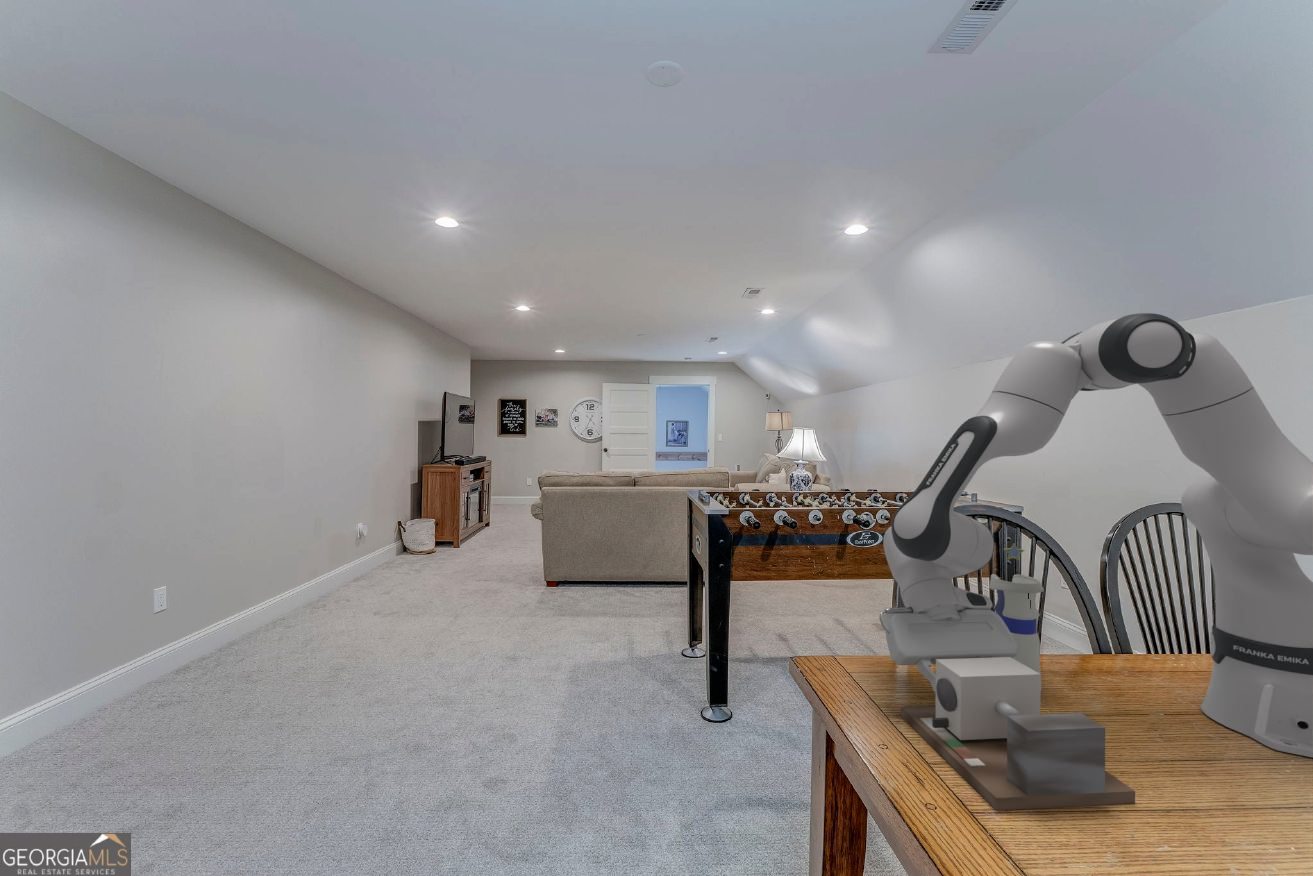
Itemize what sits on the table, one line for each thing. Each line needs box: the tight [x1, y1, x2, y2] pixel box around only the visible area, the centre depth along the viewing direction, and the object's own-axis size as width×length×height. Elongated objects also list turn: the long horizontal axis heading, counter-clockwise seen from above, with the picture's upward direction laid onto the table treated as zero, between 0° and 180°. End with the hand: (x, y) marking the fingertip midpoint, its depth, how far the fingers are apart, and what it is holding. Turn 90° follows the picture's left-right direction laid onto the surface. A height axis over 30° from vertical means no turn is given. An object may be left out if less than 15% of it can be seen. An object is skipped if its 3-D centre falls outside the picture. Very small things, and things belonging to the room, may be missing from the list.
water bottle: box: [988, 543, 1045, 691], centre depth 99 cm, size 8×9×25 cm
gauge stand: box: [900, 704, 1136, 811], centre depth 77 cm, size 22×18×10 cm
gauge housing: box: [932, 657, 1042, 740], centre depth 79 cm, size 8×14×9 cm, turn 94°
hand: (970, 690), depth 84 cm, fingers open, 8 cm apart
